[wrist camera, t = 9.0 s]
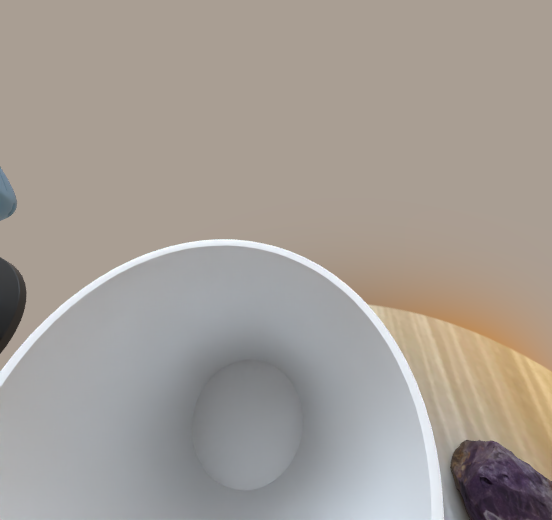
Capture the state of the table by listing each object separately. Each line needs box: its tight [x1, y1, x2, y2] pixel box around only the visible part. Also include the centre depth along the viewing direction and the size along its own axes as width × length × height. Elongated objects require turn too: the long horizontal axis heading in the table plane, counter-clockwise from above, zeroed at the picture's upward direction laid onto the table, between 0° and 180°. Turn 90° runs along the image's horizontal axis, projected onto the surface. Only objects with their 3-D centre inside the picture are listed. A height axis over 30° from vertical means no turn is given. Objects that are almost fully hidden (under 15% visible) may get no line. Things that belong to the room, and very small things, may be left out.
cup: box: [0, 239, 444, 520], centre depth 11 cm, size 8×8×16 cm
